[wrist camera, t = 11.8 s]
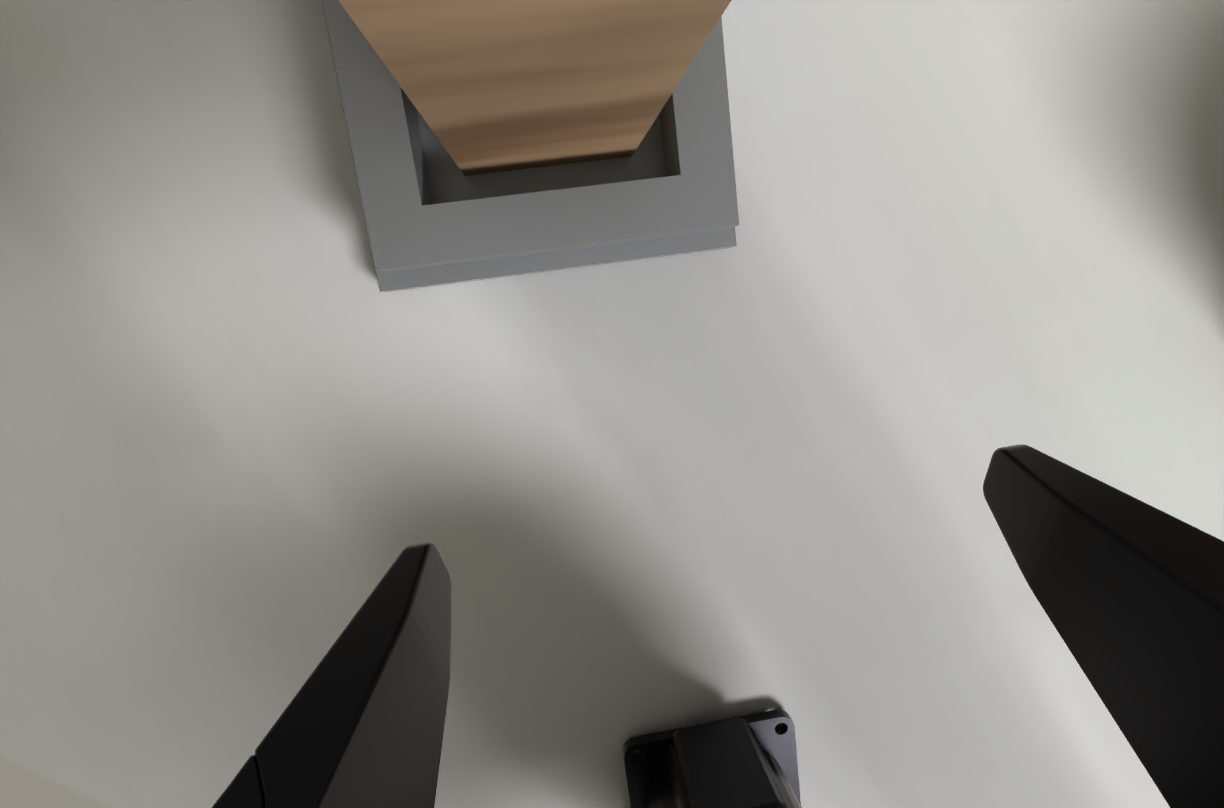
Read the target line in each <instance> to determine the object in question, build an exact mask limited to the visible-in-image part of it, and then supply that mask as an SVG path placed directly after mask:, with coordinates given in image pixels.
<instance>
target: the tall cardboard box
mask: <svg viewBox="0 0 1224 808" xmlns="http://www.w3.org/2000/svg"><path fill="white" fill-rule="evenodd" d="M338 1H339V2H340V3H341V5H342V6H343V7H344V9H345V10H346V12H347V13H348V14H349V16H350V17H351V19H352V20H353V21H354V23H355V24H356V26H357V27H358V28H359V30H360V31H361V32H362V34H363V35H364V37H365V38H366V39H367V41H368V42H369V44H370V45H371V46H372V48H373V49H374V51H375V52H376V53H377V55H378V56H379V57H380V59H381V60H382V62H383V63H384V64H385V66H386V67H387V69H388V70H389V71H390V73H391V74H392V76H393V77H394V78H395V80H396V81H397V82H398V84H399V85H400V87H401V88H402V89H403V91H404V92H405V94H406V95H407V96H408V98H409V99H410V101H411V102H412V103H413V105H414V106H415V107H416V109H417V110H418V112H419V113H420V114H421V116H422V117H423V119H424V120H425V121H426V123H427V124H428V125H429V127H430V128H431V130H432V131H433V132H434V134H435V135H436V137H437V138H438V139H439V141H440V142H441V144H442V145H443V146H444V148H445V149H446V150H447V152H448V153H449V155H450V156H451V157H452V159H453V160H454V162H455V163H456V164H457V166H458V167H459V169H460V170H461V171H462V173H463V174H464V175H465V176H468V175H476V174H485V173H493V172H502V171H510V170H519V169H527V168H536V167H544V166H553V165H562V164H570V163H579V162H587V161H596V160H604V159H613V158H621V157H630V156H632V155H633V154H634V152H635V151H636V149H637V148H638V146H639V144H640V143H641V141H642V140H643V138H644V137H645V135H646V133H647V132H648V130H649V129H650V127H651V126H652V124H653V122H654V121H655V119H656V118H657V116H658V115H659V113H660V111H661V110H662V108H663V107H664V105H665V104H666V102H667V100H668V99H669V97H670V96H671V94H672V93H673V91H674V89H675V88H676V86H677V85H678V83H679V81H680V80H681V78H682V77H683V75H684V74H685V72H686V70H687V69H688V67H689V66H690V64H691V63H692V61H693V59H694V58H695V56H696V55H697V53H698V52H699V50H700V48H701V47H702V45H703V44H704V42H705V41H706V39H707V37H708V36H709V34H710V33H711V31H712V30H713V28H714V26H715V25H716V23H717V22H718V20H719V19H720V17H721V15H722V14H723V12H724V11H725V9H726V8H727V6H728V4H729V3H730V1H731V0H338Z"/></svg>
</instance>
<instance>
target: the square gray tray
mask: <svg viewBox="0 0 1224 808" xmlns="http://www.w3.org/2000/svg"><path fill="white" fill-rule="evenodd" d="M322 4H323V9H324V14H325V19H326V24H327V29H328V34H329V39H330V44H331V49H332V54H333V59H334V64H335V69H336V74H337V79H338V84H339V89H340V94H341V99H342V104H343V109H344V114H345V119H346V124H347V130H348V135H349V140H350V145H351V150H352V155H353V160H354V165H355V170H356V175H357V180H358V185H359V190H360V195H361V200H362V205H363V210H364V215H365V220H366V225H367V230H368V235H369V240H370V245H371V250H372V255H373V260H374V266H375V270H376V274H377V279H378V284H379V289H380V292H389V291H396V290H404V289H412V288H420V287H427V286H435V285H443V284H451V283H459V282H466V281H474V280H482V279H490V278H497V277H505V276H513V275H521V274H529V273H536V272H544V271H552V270H560V269H567V268H575V267H583V266H591V265H599V264H606V263H614V262H622V261H630V260H638V259H645V258H653V257H661V256H669V255H676V254H684V253H692V252H700V251H708V250H715V249H723V248H729V247H734V246H736V235H735V226H737V225H739V219H738V208H737V196H736V184H735V172H734V161H733V149H732V137H731V125H730V114H729V102H728V90H727V78H726V67H725V55H724V43H723V31H722V20H721V17H720V19H719V20H718V22H717V23H716V25H715V26H714V28H713V30H712V31H711V33H710V34H709V36H708V37H707V39H706V41H705V42H704V44H703V45H702V47H701V48H700V50H699V52H698V53H697V55H696V56H695V58H694V59H693V61H692V63H691V64H690V66H689V67H688V69H687V70H686V72H685V74H684V75H683V77H682V78H681V80H680V81H679V83H678V85H677V86H676V88H675V89H674V91H673V93H672V94H671V96H670V97H669V99H668V100H667V102H666V104H665V105H664V107H663V108H662V110H661V111H660V113H659V115H658V116H657V118H656V119H655V121H654V122H653V124H652V126H651V127H650V129H649V130H648V132H647V133H646V135H645V137H644V138H643V140H642V141H641V143H640V144H639V146H638V148H637V149H636V151H635V152H634V154H633V155H632V156H630V157H621V158H613V159H604V160H596V161H587V162H579V163H570V164H562V165H553V166H544V167H536V168H527V169H519V170H510V171H502V172H493V173H485V174H476V175H468V176H465V175H464V174H463V173H462V171H461V170H460V169H459V167H458V166H457V164H456V163H455V162H454V160H453V159H452V157H451V156H450V155H449V153H448V152H447V150H446V149H445V148H444V146H443V145H442V144H441V142H440V141H439V139H438V138H437V137H436V135H435V134H434V132H433V131H432V130H431V128H430V127H429V125H428V124H427V123H426V121H425V120H424V119H423V117H422V116H421V114H420V113H419V112H418V110H417V109H416V107H415V106H414V105H413V103H412V102H411V101H410V99H409V98H408V96H407V95H406V94H405V92H404V91H403V89H402V88H401V87H400V85H399V84H398V82H397V81H396V80H395V78H394V77H393V76H392V74H391V73H390V71H389V70H388V69H387V67H386V66H385V64H384V63H383V62H382V60H381V59H380V57H379V56H378V55H377V53H376V52H375V51H374V49H373V48H372V46H371V45H370V44H369V42H368V41H367V39H366V38H365V37H364V35H363V34H362V32H361V31H360V30H359V28H358V27H357V26H356V24H355V23H354V21H353V20H352V19H351V17H350V16H349V14H348V13H347V12H346V10H345V9H344V7H343V6H342V5H341V3H340V2H339V1H338V0H322Z"/></svg>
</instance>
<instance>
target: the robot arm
mask: <svg viewBox="0 0 1224 808" xmlns="http://www.w3.org/2000/svg"><path fill="white" fill-rule="evenodd" d="M983 492H984V496H985V499H986V501H987V503H988V505H989V507H990V509H991V511H992V513H993V515H994V517H995V519H996V521H997V523H998V526H999V528H1000V530H1001V532H1002V534H1003V536H1004V538H1005V540H1006V542H1007V544H1008V546H1009V548H1010V550H1011V552H1012V554H1013V556H1014V558H1015V560H1016V562H1017V564H1018V566H1019V568H1020V570H1021V572H1022V574H1023V575H1024V577H1025V579H1026V581H1027V583H1028V585H1029V586H1030V588H1031V590H1032V591H1033V593H1034V595H1035V596H1036V598H1037V599H1038V601H1039V603H1040V604H1041V606H1042V607H1043V609H1044V610H1045V612H1046V614H1047V615H1048V617H1049V618H1050V620H1051V621H1052V623H1053V625H1054V626H1055V628H1056V629H1057V631H1058V632H1059V634H1060V635H1061V637H1062V639H1063V640H1064V642H1065V643H1066V645H1067V646H1068V648H1069V650H1070V651H1071V653H1072V654H1073V656H1074V657H1075V659H1076V661H1077V662H1078V664H1079V665H1080V667H1081V668H1082V670H1083V672H1084V673H1085V675H1086V676H1087V678H1088V679H1089V681H1090V682H1091V684H1092V686H1093V687H1094V689H1095V690H1096V692H1097V693H1098V695H1099V697H1100V698H1101V700H1102V701H1103V703H1104V704H1105V706H1106V708H1107V709H1108V711H1109V712H1110V714H1111V715H1112V717H1113V718H1114V720H1115V722H1116V723H1117V725H1118V726H1119V728H1120V729H1121V731H1122V733H1123V734H1124V736H1125V737H1126V739H1127V740H1128V742H1129V744H1130V745H1131V747H1132V748H1133V750H1134V751H1135V753H1136V755H1137V756H1138V758H1139V759H1140V761H1141V762H1142V764H1143V765H1144V767H1145V769H1146V770H1147V772H1148V773H1149V775H1150V776H1151V778H1152V780H1153V781H1154V783H1155V784H1156V786H1157V787H1158V789H1159V791H1160V792H1161V794H1162V795H1163V797H1164V798H1165V800H1166V801H1167V803H1168V805H1169V806H1170V808H1224V541H1222V540H1220V539H1218V538H1216V537H1214V536H1212V535H1209V534H1207V533H1205V532H1203V531H1201V530H1199V529H1197V528H1195V527H1193V526H1191V525H1189V524H1187V523H1185V522H1183V521H1181V520H1179V519H1177V518H1175V517H1173V516H1171V515H1169V514H1167V513H1165V512H1163V511H1161V510H1158V509H1156V508H1154V507H1152V506H1150V505H1148V504H1146V503H1144V502H1142V501H1140V500H1138V499H1136V498H1134V497H1132V496H1130V495H1128V494H1126V493H1124V492H1122V491H1120V490H1118V489H1116V488H1114V487H1112V486H1109V485H1107V484H1105V483H1103V482H1101V481H1099V480H1097V479H1095V478H1093V477H1091V476H1089V475H1087V474H1085V473H1083V472H1081V471H1079V470H1077V469H1075V468H1073V467H1071V466H1069V465H1067V464H1065V463H1063V462H1061V461H1058V460H1056V459H1054V458H1052V457H1050V456H1048V455H1046V454H1044V453H1042V452H1040V451H1038V450H1036V449H1034V448H1032V447H1030V446H1027V445H1014V446H1008V447H1002V448H999V449H997V450H996V451H995V452H994V453H993V455H992V458H991V461H990V464H989V468H988V471H987V474H986V477H985V480H984V484H983ZM450 639H451V581H450V576H449V573H448V571H447V569H446V567H445V565H444V563H443V561H442V559H441V557H440V555H439V553H438V551H437V549H436V547H435V546H434V545H433V544H432V543H423V544H417V545H411V546H408V547H406V548H405V549H404V550H403V551H402V553H401V554H400V555H399V557H398V558H397V559H396V561H395V562H394V563H393V565H392V566H391V567H390V569H389V570H388V571H387V573H386V574H385V576H384V577H383V578H382V580H381V581H380V582H379V584H378V585H377V586H376V588H375V589H374V590H373V592H372V593H371V594H370V596H369V597H368V599H367V600H366V601H365V603H364V604H363V605H362V607H361V608H360V609H359V611H358V612H357V613H356V615H355V616H354V617H353V619H352V620H351V621H350V623H349V624H348V626H347V627H346V628H345V630H344V631H343V632H342V634H341V635H340V636H339V638H338V639H337V640H336V642H335V643H334V644H333V646H332V647H331V648H330V650H329V651H328V653H327V654H326V655H325V657H324V658H323V659H322V661H321V662H320V663H319V665H318V666H317V667H316V669H315V670H314V671H313V673H312V674H311V676H310V677H309V678H308V680H307V681H306V682H305V684H304V685H303V686H302V688H301V689H300V690H299V692H298V693H297V694H296V696H295V697H294V698H293V700H292V701H291V703H290V704H289V705H288V707H287V708H286V709H285V711H284V712H283V713H282V715H281V716H280V717H279V719H278V720H277V721H276V723H275V724H274V725H273V727H272V728H271V730H270V731H269V732H268V734H267V735H266V736H265V738H264V739H263V740H262V742H261V743H260V744H259V746H258V747H257V748H256V750H255V755H252V756H251V757H250V758H249V759H248V760H247V762H246V763H245V764H244V766H243V767H242V768H241V770H240V771H239V772H238V774H237V775H236V777H235V778H234V779H233V781H232V782H231V783H230V785H229V786H228V787H227V788H226V790H225V791H224V792H223V794H222V795H221V796H220V798H219V799H218V800H217V801H216V803H215V804H214V805H213V807H212V808H434V803H435V795H436V787H437V779H438V771H439V763H440V755H441V747H442V739H443V731H444V723H445V715H446V707H447V699H448V690H449V680H450ZM779 723H783V725H782V726H780V727H776V726H777V724H779ZM636 750H640V751H641V753H639V754H637V755H636V754H632V753H633V752H634V751H636ZM623 756H624V763H625V770H626V777H627V784H628V790H629V797H630V804H631V808H802V807H801V803H800V791H799V779H798V766H797V754H796V741H795V729H794V724H793V721H792V720H791V718H790V716H789V715H788V713H787V712H785V711H783V710H774V711H769V712H764V713H758V714H753V715H748V716H742V717H737V718H732V719H727V720H721V721H716V722H711V723H705V724H700V725H695V726H690V727H684V728H679V729H674V730H668V731H663V732H658V733H653V734H647V735H642V736H637V737H633V738H630V739H629V740H627V741H626V742H625V744H624V746H623Z"/></svg>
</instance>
